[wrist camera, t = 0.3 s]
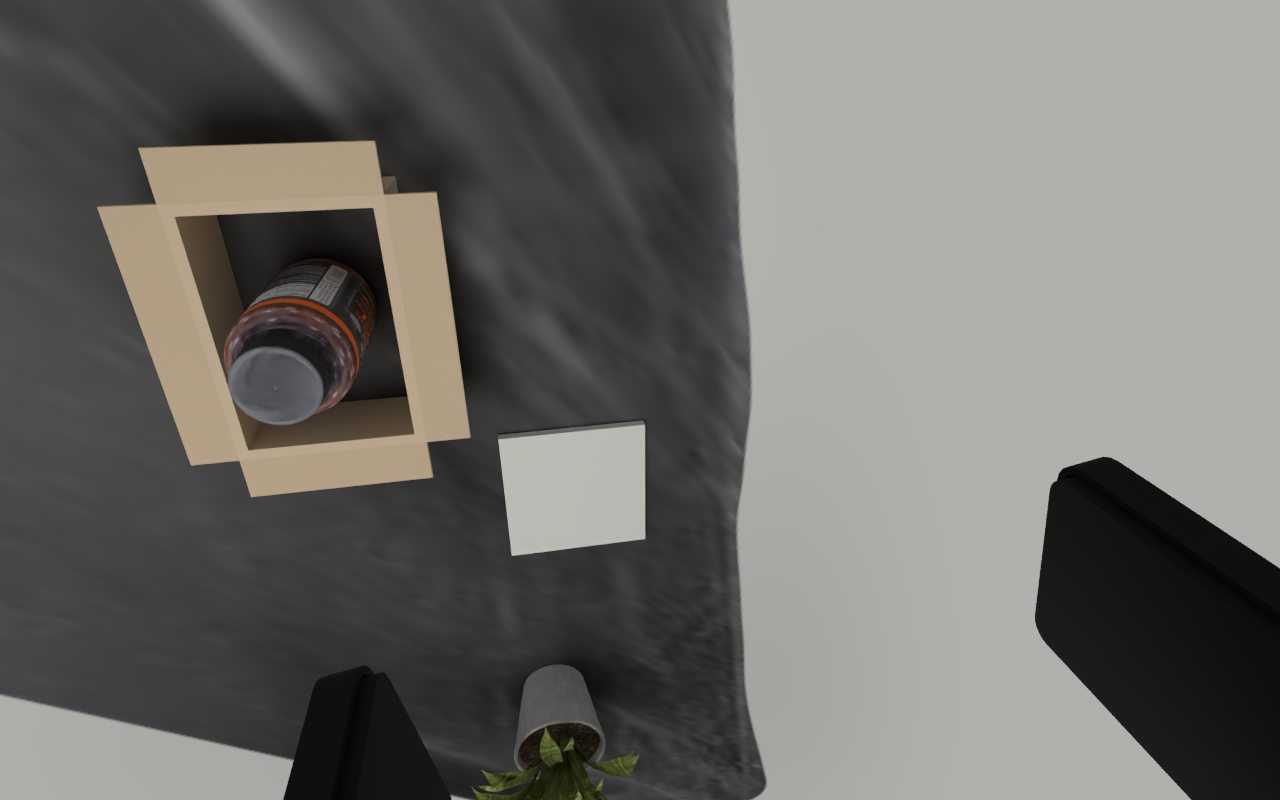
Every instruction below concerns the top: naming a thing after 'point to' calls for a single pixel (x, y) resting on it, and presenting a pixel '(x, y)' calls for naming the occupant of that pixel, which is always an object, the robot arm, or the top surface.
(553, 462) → the mat
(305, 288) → the supplement bottle
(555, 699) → the house plant
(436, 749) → the top surface
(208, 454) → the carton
